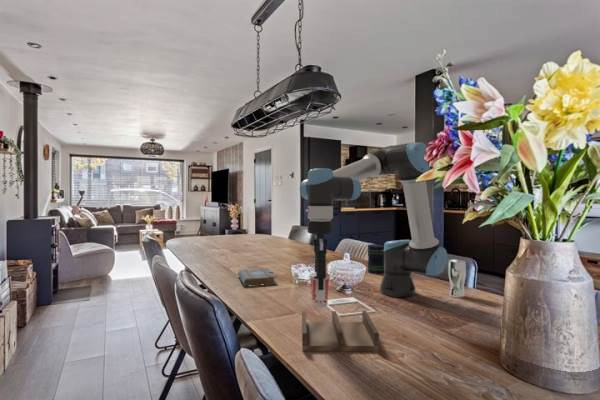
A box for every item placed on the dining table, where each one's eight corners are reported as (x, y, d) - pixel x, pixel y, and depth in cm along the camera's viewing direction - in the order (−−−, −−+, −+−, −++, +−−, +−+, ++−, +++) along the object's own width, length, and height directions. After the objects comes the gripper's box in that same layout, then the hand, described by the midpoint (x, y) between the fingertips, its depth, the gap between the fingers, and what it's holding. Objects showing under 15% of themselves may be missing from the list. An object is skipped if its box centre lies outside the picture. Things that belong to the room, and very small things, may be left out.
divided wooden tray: (366, 326, 112) (366, 311, 112) (378, 351, 94) (378, 333, 94) (302, 326, 112) (301, 311, 112) (302, 351, 94) (302, 333, 94)
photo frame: (353, 296, 143) (375, 310, 126) (353, 299, 143) (375, 313, 126) (320, 300, 138) (339, 314, 121) (320, 302, 138) (339, 317, 121)
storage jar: (375, 269, 199) (375, 243, 199) (389, 272, 192) (389, 245, 191) (364, 271, 193) (363, 245, 193) (378, 274, 185) (378, 247, 185)
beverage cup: (334, 306, 102) (334, 259, 102) (316, 309, 99) (316, 260, 99) (322, 300, 107) (322, 255, 107) (305, 303, 104) (305, 257, 104)
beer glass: (461, 299, 141) (461, 262, 141) (445, 295, 147) (445, 260, 146) (468, 295, 146) (469, 260, 146) (452, 292, 151) (452, 258, 151)
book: (237, 277, 181) (237, 268, 181) (268, 275, 186) (268, 266, 186) (243, 288, 161) (243, 277, 161) (277, 285, 166) (277, 274, 166)
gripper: (306, 218, 112) (306, 288, 112) (308, 222, 93) (308, 307, 93) (329, 218, 112) (329, 288, 112) (336, 222, 93) (335, 307, 93)
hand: (319, 296), depth 103 cm, fingers closed on beverage cup, 6 cm apart
